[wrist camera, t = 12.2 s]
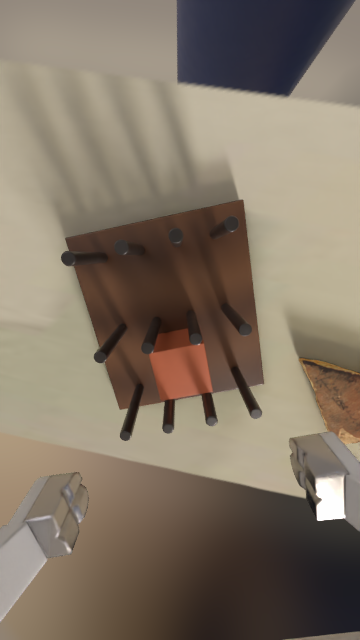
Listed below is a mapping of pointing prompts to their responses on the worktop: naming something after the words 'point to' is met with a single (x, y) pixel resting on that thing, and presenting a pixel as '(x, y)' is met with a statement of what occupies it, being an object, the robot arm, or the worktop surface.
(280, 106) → the worktop surface
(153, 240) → the dish rack
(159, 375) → the block
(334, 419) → the shard
